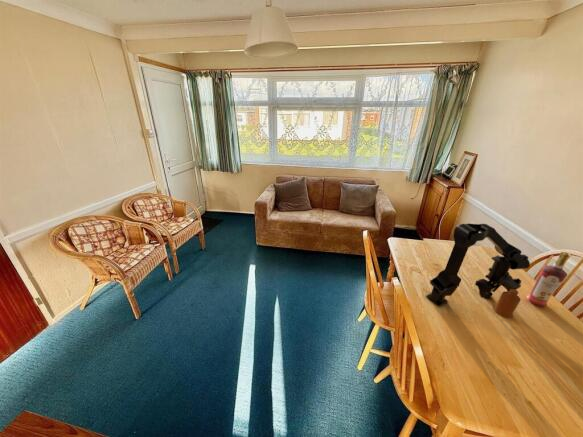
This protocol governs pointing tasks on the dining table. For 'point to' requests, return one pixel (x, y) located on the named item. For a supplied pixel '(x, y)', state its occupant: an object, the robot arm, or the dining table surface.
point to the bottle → (507, 303)
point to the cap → (488, 295)
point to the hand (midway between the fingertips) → (487, 294)
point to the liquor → (548, 281)
